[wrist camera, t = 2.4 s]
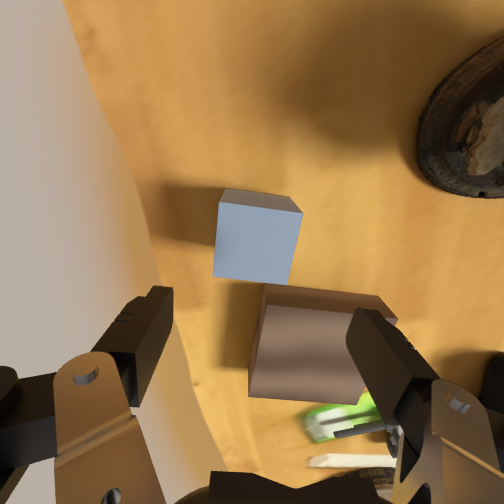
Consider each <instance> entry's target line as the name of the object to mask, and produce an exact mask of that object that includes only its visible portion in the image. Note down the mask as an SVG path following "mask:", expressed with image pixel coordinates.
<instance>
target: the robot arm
mask: <svg viewBox="0 0 504 504" xmlns="http://www.w3.org/2000/svg"><path fill="white" fill-rule="evenodd" d="M172 323H173V288H172V287H165V286H153V287H152V288H151V290H150V292H149V293H148V294H147V296H146V297H142V296H138V297H136V298H135V299H133V300H132V301H130V302H129V303H127V304H126V306H125V307H124V308H123V310H122V311H121V312H120V314H119V315H118V316H117V317H116V319H115V321H114V322H113V323H112V324H111V325H110V327H109V328H108V329H107V330H106V332H105V333H104V334H103V336H102V337H101V338H100V339H99V341H98V342H97V343H96V345H95V346H94V347H93V349H92V350H91V351H90V352H89V353H85V354H82V355H79V356H77V357H75V358H73V359H71V360H70V361H68V362H67V363H66V364H64V365H63V366H62V367H61V368H60V369H59V370H58V372H54V373H50V374H45V375H39V376H34V377H27V378H22V379H18V376H17V373H16V371H15V370H14V369H13V368H11V367H7V366H0V504H5V503H6V501H7V500H8V498H9V497H10V495H11V493H12V492H13V490H14V489H15V487H16V485H17V484H18V482H19V481H20V479H21V478H22V476H23V474H24V473H25V471H26V470H27V468H28V466H29V465H30V464H32V463H35V462H39V461H42V460H45V459H49V458H52V457H55V460H54V476H55V495H56V504H166V501H165V498H164V496H163V492H162V490H161V487H160V484H159V481H158V478H157V475H156V472H155V469H154V466H153V463H152V460H151V457H150V454H149V451H148V449H147V445H146V442H145V439H144V436H143V433H142V430H141V427H140V425H139V422H138V420H137V417H136V416H135V415H132V413H131V410H130V407H140V404H141V402H142V400H143V397H144V395H145V392H146V390H147V387H148V385H149V383H150V380H151V378H152V375H153V373H154V370H155V368H156V365H157V363H158V361H159V358H160V356H161V353H162V351H163V349H164V346H165V344H166V341H167V339H168V337H169V334H170V331H171V328H172ZM346 347H347V349H348V351H349V353H350V355H351V357H352V359H353V361H354V363H355V365H356V367H357V369H358V371H359V373H360V375H361V377H362V379H363V381H364V383H365V385H366V387H367V389H368V391H369V393H370V395H371V397H372V399H373V401H374V403H375V405H376V407H377V409H378V411H379V412H380V414H381V416H382V418H383V420H384V422H385V424H386V425H396V426H401V428H402V430H403V432H402V434H401V435H400V438H399V446H398V454H397V462H396V470H395V478H394V486H393V491H392V495H391V498H390V500H389V501H388V500H386V499H384V498H382V497H380V496H378V494H377V491H376V488H375V486H374V483H373V480H372V479H370V478H349V477H332V478H329V479H326V480H323V481H320V482H317V483H313V484H310V485H307V486H304V487H301V488H297V489H295V488H290V487H288V486H285V485H283V484H280V483H277V482H275V481H272V480H269V479H267V478H264V477H262V476H259V475H256V474H254V473H244V472H222V471H211V475H210V484H209V486H206V487H202V488H199V489H197V490H195V491H193V492H191V493H189V494H187V495H186V496H185V497H183V498H181V499H180V500H178V501H177V502H176V503H175V504H504V414H501V413H498V412H495V411H493V410H490V409H487V408H484V406H483V405H482V404H481V403H480V401H479V400H478V399H477V398H476V397H475V396H473V395H472V394H471V393H470V392H468V391H467V390H466V389H464V388H462V387H461V386H459V385H457V384H455V383H453V382H450V381H447V380H442V379H441V378H440V377H439V376H438V375H437V374H436V372H435V371H434V370H433V369H432V368H431V367H430V365H429V364H428V363H427V362H426V361H425V359H424V358H423V357H422V356H421V355H420V354H419V352H418V351H417V350H415V348H414V346H413V345H412V344H411V343H410V342H408V339H407V338H406V337H405V336H404V335H403V333H402V332H401V331H400V330H399V329H398V328H396V327H395V326H394V325H392V324H391V323H390V322H388V321H387V320H386V319H385V318H384V317H383V315H382V314H381V313H380V312H379V311H378V310H377V309H375V308H365V307H357V308H356V309H355V311H354V314H353V317H352V320H351V322H350V325H349V328H348V330H347V333H346Z"/></svg>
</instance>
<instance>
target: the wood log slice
mask: <svg viewBox="0 0 504 504" xmlns="http://www.w3.org/2000/svg"><path fill="white" fill-rule="evenodd" d="M395 470H396V468H393V467H371V468H364V469H359V470H356V471H353V472H350V473H347V474H345V475H343V476H341V477H349V478H370V479H372V480H373V483H374V486H375V488H376V491H377V494H378V496H380V497H382V498H384V499H386V500H388V501H389V500H390V498H391V495H392V491H393V486H394V478H395Z"/></svg>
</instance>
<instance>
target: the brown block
mask: <svg viewBox="0 0 504 504" xmlns="http://www.w3.org/2000/svg"><path fill="white" fill-rule="evenodd" d="M357 307H365V308H375V309H377V310H378V311H379V312H380V313H381V314H382V315H383V317H384V318H385V319H386V320H387V321H388V322H390V323H391V324H392V325H394V326H395V324H396V322H397V320H398V318H397V317H396V316H395V315H394V313H393V312H392V311H391V310H390V309H389V308H388V307H387V305H386V304H385V303H384V302H383V301H382V300H381V299H380V297H379V296H373V295H364V294H356V293H347V292H338V291H330V290H321V289H312V288H304V287H295V286H286V285H277V284H269V283H265V284H264V289H263V294H262V299H261V304H260V310H259V315H258V320H257V325H256V331H255V336H254V341H253V346H252V351H251V357H250V362H249V367H248V397H255V398H268V399H281V400H294V401H307V402H320V403H333V404H346V405H357V403H358V401H359V399H360V397H361V394H362V392H363V390H364V388H365V386H366V385H365V383H364V381H363V379H362V377H361V375H360V373H359V371H358V369H357V367H356V365H355V363H354V361H353V359H352V357H351V355H350V353H349V351H348V349H347V347H346V333H347V330H348V328H349V325H350V322H351V320H352V317H353V314H354V311H355V309H356V308H357Z"/></svg>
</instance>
